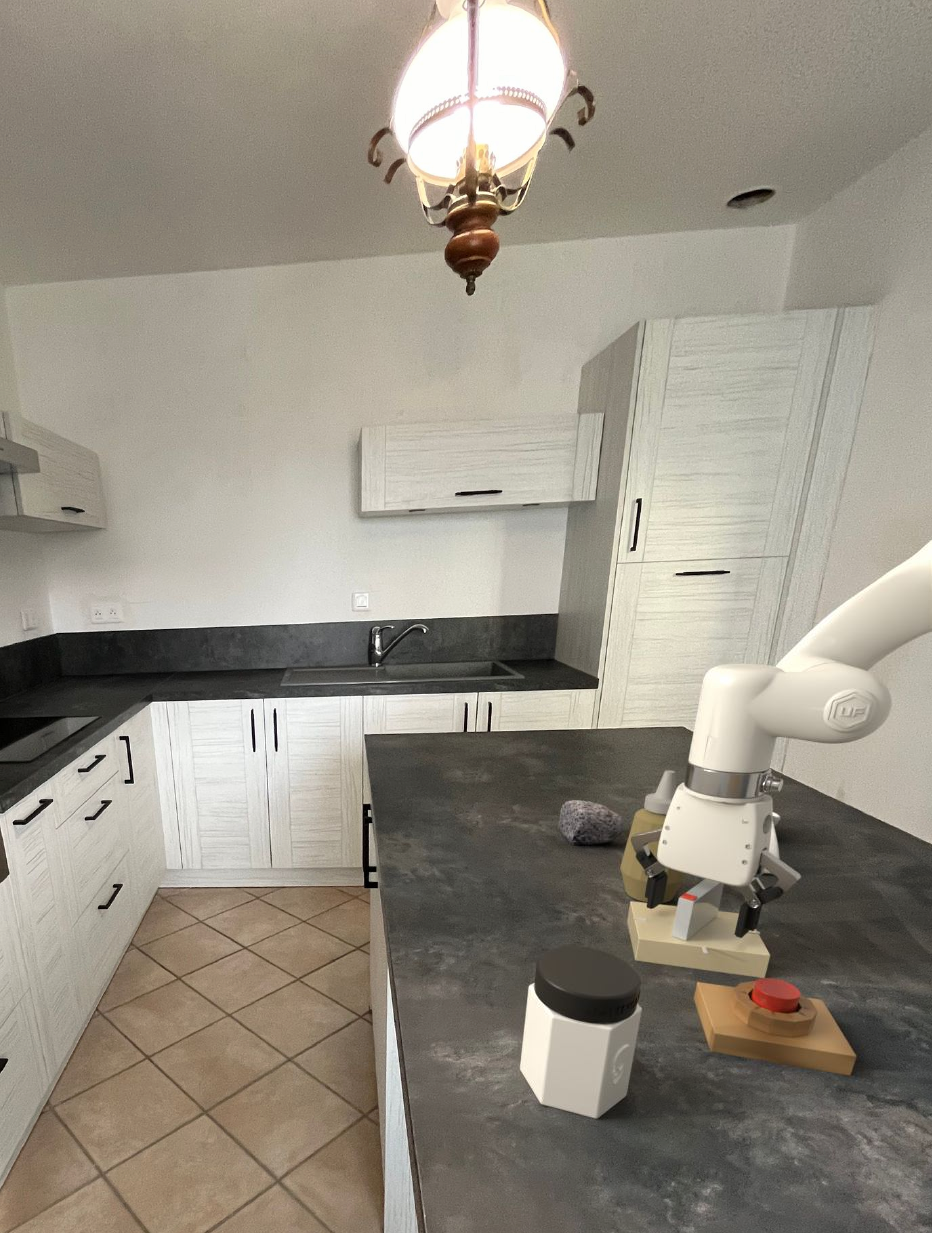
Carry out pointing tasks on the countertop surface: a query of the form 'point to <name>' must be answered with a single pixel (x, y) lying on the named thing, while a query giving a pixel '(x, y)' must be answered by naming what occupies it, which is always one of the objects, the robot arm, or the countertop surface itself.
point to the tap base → (696, 942)
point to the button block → (772, 1030)
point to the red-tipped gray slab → (697, 908)
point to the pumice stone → (589, 823)
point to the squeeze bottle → (648, 821)
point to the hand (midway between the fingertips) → (696, 918)
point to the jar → (581, 1029)
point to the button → (776, 995)
